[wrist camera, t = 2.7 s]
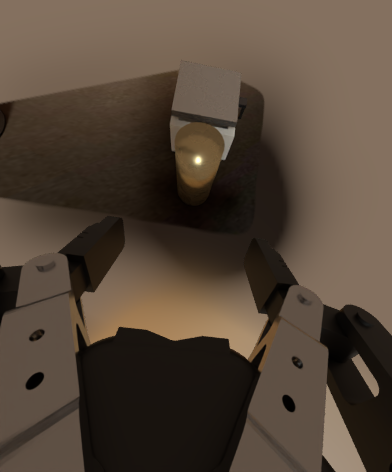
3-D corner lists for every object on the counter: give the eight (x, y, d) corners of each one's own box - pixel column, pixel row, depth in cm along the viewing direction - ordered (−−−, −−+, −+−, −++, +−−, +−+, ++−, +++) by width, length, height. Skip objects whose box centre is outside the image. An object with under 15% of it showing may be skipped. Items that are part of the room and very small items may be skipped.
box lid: (173, 137, 25) (171, 109, 21) (181, 93, 27) (181, 60, 22) (235, 148, 25) (246, 124, 21) (239, 104, 27) (250, 74, 23)
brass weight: (175, 203, 25) (170, 161, 16) (180, 174, 26) (178, 118, 17) (207, 207, 26) (222, 169, 16) (210, 179, 27) (226, 126, 17)
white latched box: (171, 150, 27) (169, 124, 22) (179, 107, 29) (179, 74, 24) (226, 160, 28) (236, 136, 23) (230, 117, 30) (240, 86, 25)
